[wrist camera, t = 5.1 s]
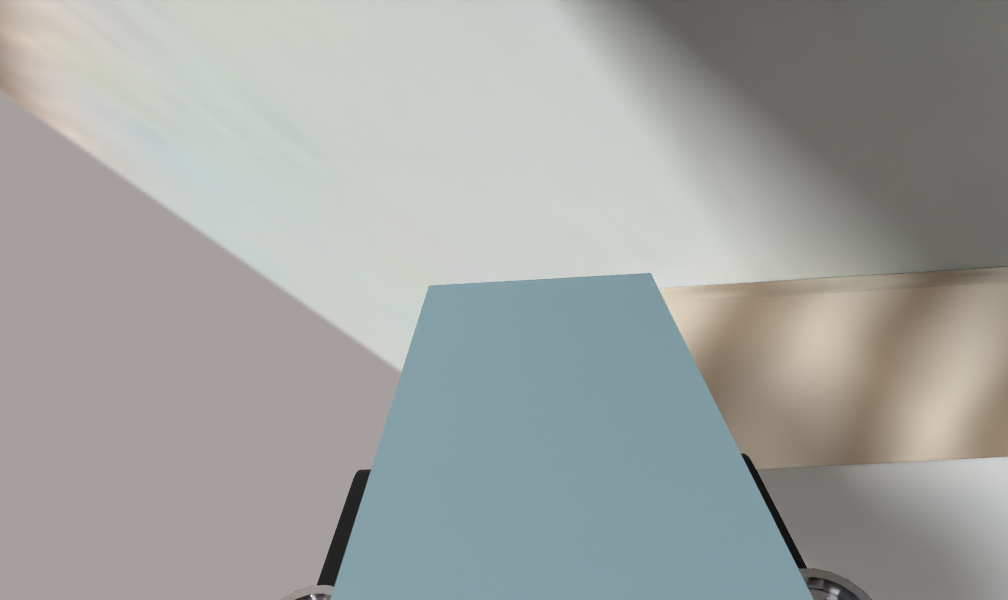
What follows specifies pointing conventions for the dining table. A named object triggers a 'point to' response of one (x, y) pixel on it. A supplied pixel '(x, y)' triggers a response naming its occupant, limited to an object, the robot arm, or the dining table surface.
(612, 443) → the pale blue upright box
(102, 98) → the dining table surface
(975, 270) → the wooden bookend
